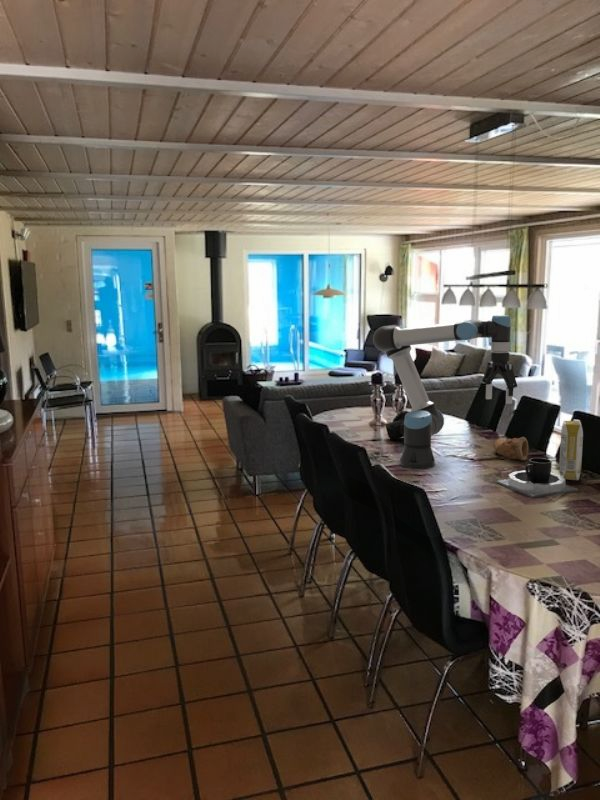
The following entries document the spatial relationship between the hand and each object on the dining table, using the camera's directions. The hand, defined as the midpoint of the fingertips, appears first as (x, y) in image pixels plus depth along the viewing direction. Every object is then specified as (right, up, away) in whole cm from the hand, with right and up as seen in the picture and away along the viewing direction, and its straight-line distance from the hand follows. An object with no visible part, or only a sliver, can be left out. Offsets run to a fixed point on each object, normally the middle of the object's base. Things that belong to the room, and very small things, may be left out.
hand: (498, 401), depth 271 cm
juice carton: (+24, -31, -14) cm, 42 cm away
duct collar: (+6, -33, -26) cm, 43 cm away
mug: (+6, -33, -26) cm, 42 cm away
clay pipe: (+12, -26, +20) cm, 35 cm away
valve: (-28, -21, +52) cm, 63 cm away
